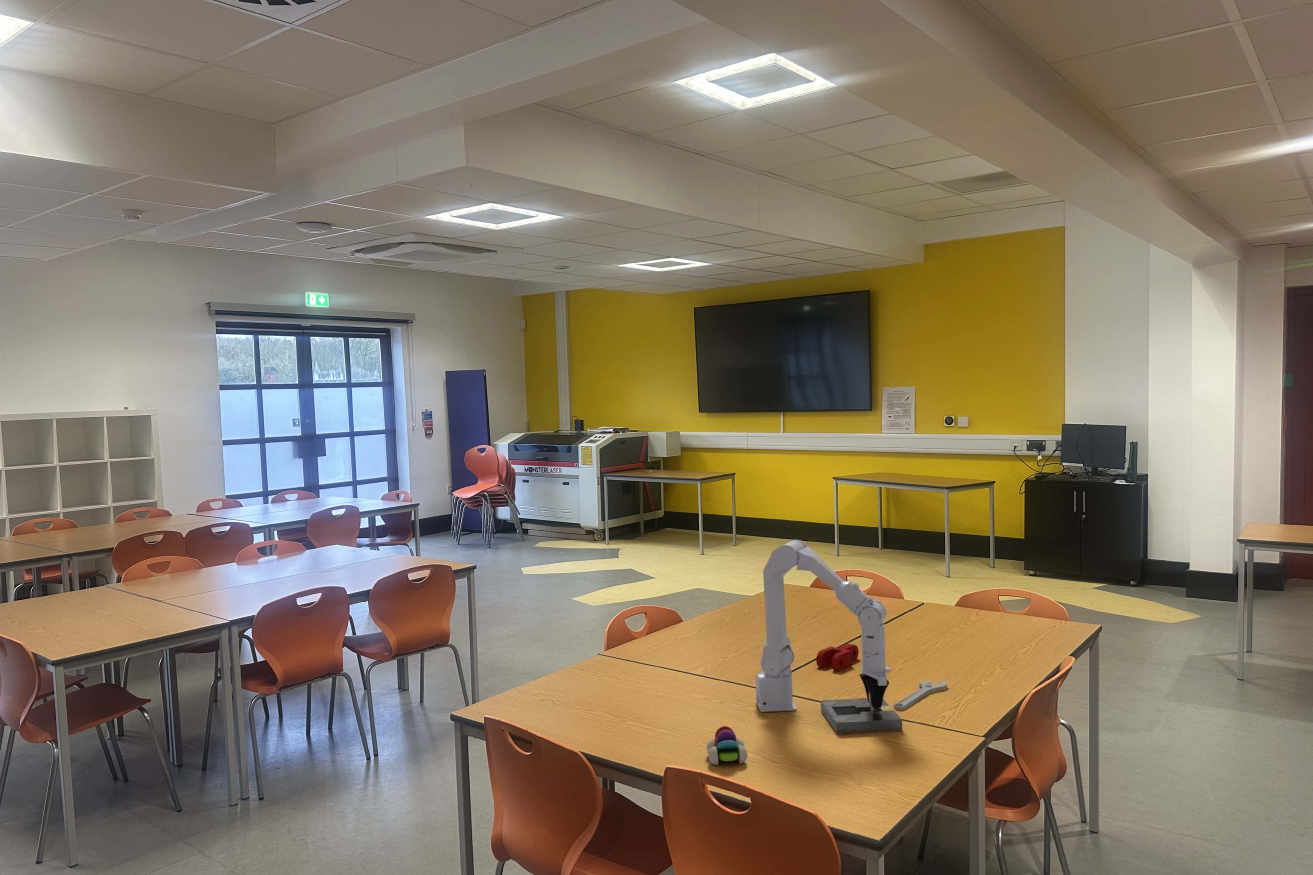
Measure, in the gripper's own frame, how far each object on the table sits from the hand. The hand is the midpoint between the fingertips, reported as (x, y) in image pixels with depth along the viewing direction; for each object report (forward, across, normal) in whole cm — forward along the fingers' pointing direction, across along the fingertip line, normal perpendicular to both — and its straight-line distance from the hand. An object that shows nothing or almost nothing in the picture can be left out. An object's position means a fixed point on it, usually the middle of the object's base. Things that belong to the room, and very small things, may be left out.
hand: (874, 705), depth 215 cm
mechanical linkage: (+4, +47, -4) cm, 47 cm away
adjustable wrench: (+4, +16, -16) cm, 23 cm away
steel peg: (+3, 0, 0) cm, 3 cm away
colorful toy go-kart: (+4, -19, +40) cm, 44 cm away
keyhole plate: (+4, 0, +4) cm, 5 cm away
